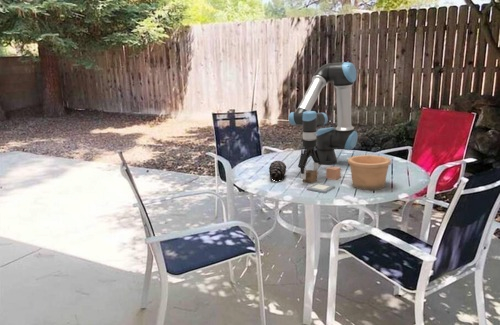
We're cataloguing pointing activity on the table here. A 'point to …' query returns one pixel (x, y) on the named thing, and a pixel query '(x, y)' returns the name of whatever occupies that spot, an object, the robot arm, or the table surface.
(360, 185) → the pottery
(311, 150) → the robot arm
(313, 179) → the walnut cube
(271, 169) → the pine cone
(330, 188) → the pad
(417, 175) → the table surface
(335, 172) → the terracotta cube
